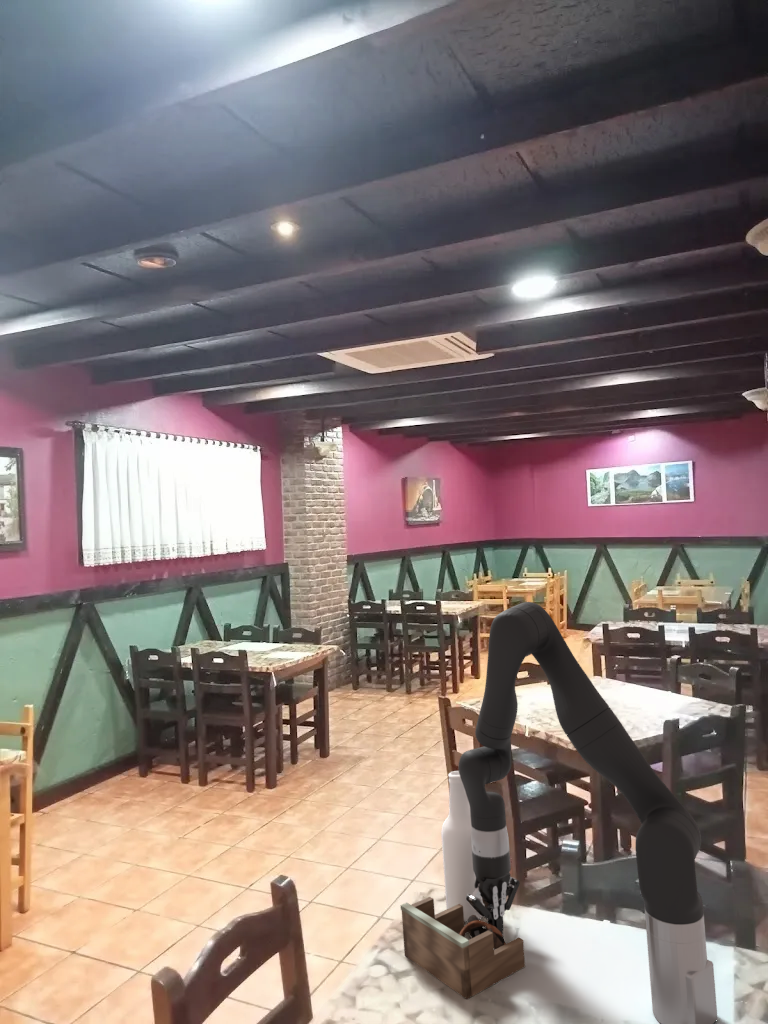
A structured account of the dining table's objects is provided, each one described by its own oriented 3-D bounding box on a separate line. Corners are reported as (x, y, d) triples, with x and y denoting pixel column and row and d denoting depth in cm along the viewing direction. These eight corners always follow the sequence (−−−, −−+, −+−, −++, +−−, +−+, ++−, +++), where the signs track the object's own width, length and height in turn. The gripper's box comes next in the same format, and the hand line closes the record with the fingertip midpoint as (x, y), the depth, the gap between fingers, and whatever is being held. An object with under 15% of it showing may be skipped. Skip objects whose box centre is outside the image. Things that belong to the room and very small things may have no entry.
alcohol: (473, 927, 154) (463, 782, 155) (438, 916, 160) (429, 776, 160) (495, 909, 161) (485, 770, 162) (461, 898, 166) (451, 764, 167)
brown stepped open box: (525, 966, 139) (521, 913, 139) (466, 999, 130) (462, 943, 131) (460, 928, 154) (457, 880, 154) (403, 955, 145) (400, 905, 146)
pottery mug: (522, 968, 139) (505, 939, 137) (480, 998, 138) (462, 969, 135) (495, 922, 151) (479, 894, 148) (456, 949, 149) (439, 921, 147)
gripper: (478, 864, 141) (484, 955, 141) (527, 843, 149) (533, 930, 149) (453, 851, 148) (459, 939, 147) (501, 832, 155) (507, 915, 155)
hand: (496, 934), depth 148 cm, fingers closed
